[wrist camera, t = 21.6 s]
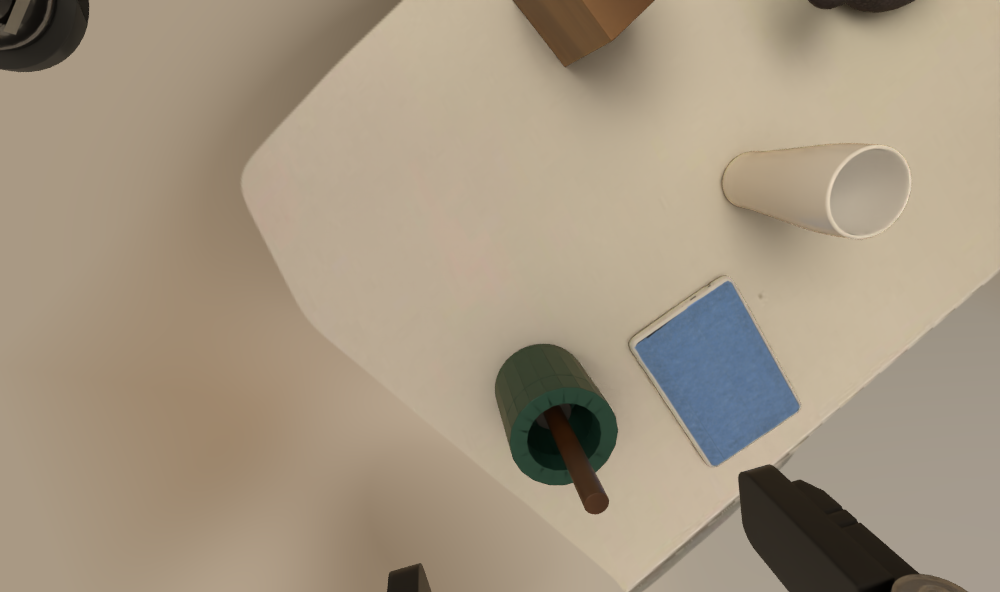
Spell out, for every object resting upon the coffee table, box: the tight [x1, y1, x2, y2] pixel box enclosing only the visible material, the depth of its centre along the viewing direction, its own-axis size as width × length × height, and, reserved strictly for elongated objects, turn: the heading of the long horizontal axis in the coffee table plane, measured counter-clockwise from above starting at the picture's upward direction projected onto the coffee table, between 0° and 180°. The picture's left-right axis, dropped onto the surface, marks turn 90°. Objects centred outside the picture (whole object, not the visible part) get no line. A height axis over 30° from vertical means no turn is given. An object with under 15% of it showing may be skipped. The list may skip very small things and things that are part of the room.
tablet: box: [629, 276, 801, 467], centre depth 56 cm, size 19×13×1 cm, turn 35°
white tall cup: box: [722, 143, 912, 239], centre depth 44 cm, size 7×7×15 cm
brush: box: [535, 403, 609, 514], centre depth 45 cm, size 4×4×18 cm
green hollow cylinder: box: [495, 344, 618, 485], centre depth 49 cm, size 9×9×10 cm
